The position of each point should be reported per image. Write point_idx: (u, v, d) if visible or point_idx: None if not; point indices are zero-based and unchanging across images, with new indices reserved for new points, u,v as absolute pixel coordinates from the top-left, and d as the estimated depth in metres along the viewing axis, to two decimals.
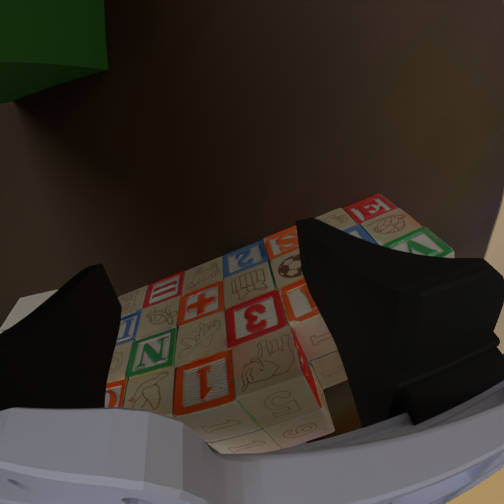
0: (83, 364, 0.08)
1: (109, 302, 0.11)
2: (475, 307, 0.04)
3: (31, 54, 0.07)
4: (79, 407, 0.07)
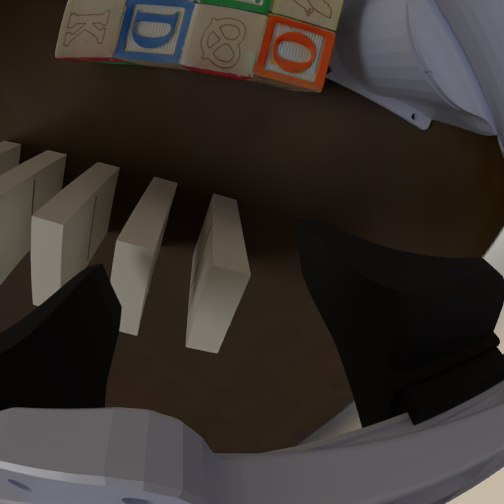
0: (83, 364, 0.08)
1: (109, 302, 0.11)
2: (475, 307, 0.04)
3: None
4: (79, 407, 0.07)
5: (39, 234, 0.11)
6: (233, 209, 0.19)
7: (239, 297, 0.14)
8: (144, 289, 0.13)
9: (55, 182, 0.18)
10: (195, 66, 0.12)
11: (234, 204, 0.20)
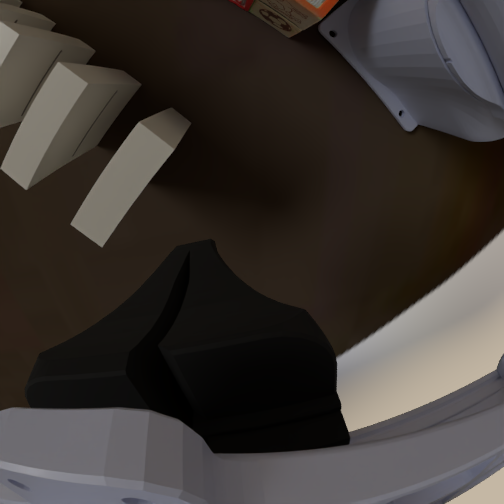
0: None
1: None
2: (276, 370, 0.04)
3: None
4: None
5: None
6: (184, 122, 0.16)
7: (151, 175, 0.11)
8: (57, 128, 0.09)
9: None
10: None
11: (187, 122, 0.17)
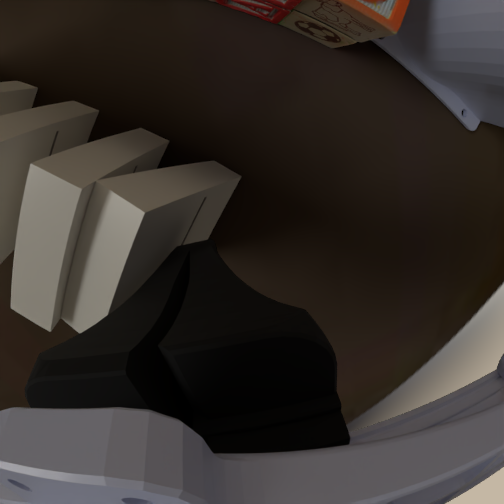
0: None
1: None
2: (276, 369, 0.04)
3: None
4: None
5: None
6: (224, 176, 0.14)
7: (126, 253, 0.07)
8: (61, 257, 0.07)
9: None
10: None
11: (231, 176, 0.14)
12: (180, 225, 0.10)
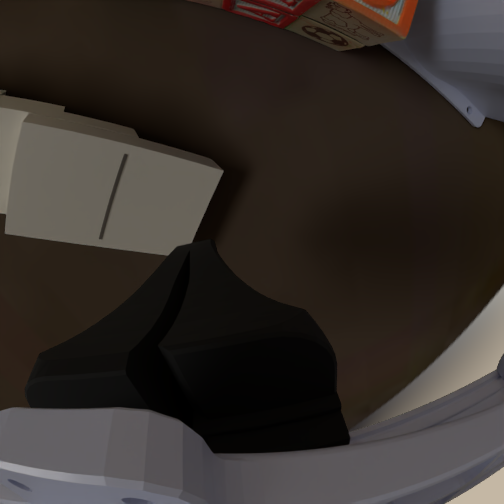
0: None
1: None
2: (276, 369, 0.04)
3: None
4: None
5: None
6: (183, 157, 0.13)
7: (16, 151, 0.09)
8: None
9: None
10: None
11: (201, 162, 0.14)
12: (87, 165, 0.11)
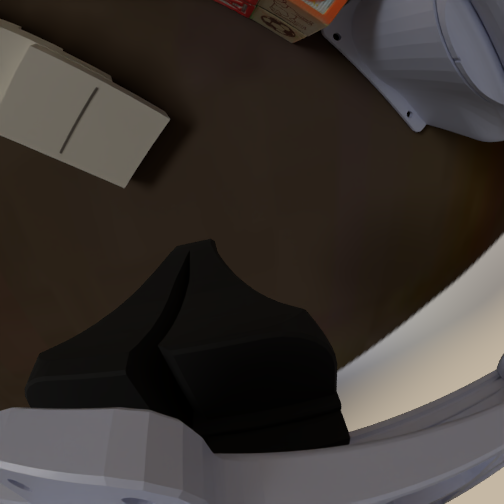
0: None
1: None
2: (276, 369, 0.04)
3: None
4: None
5: None
6: (140, 101, 0.15)
7: (18, 67, 0.10)
8: None
9: None
10: None
11: (153, 108, 0.16)
12: (66, 90, 0.12)
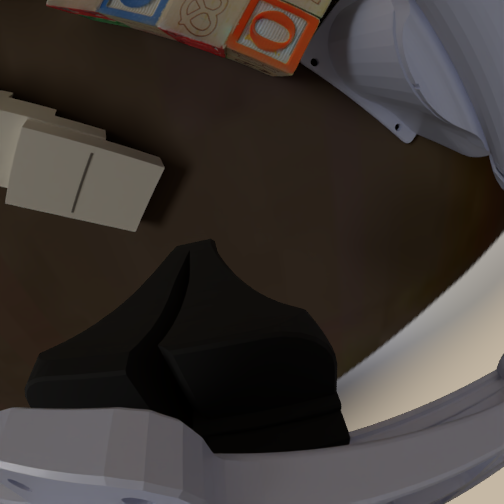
0: None
1: None
2: (276, 369, 0.04)
3: None
4: None
5: None
6: (134, 156, 0.17)
7: (16, 147, 0.13)
8: None
9: None
10: (170, 30, 0.11)
11: (147, 161, 0.18)
12: (65, 159, 0.15)
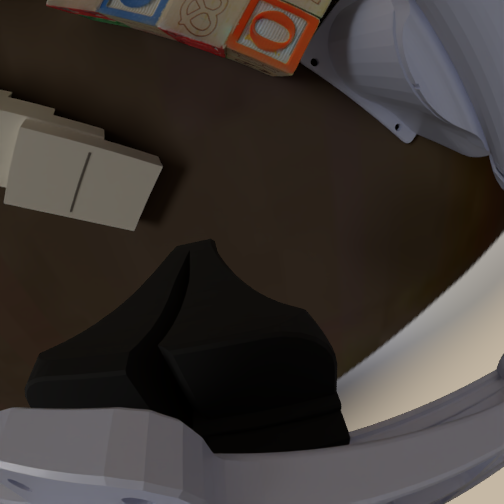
0: None
1: None
2: (276, 369, 0.04)
3: None
4: None
5: None
6: (132, 155, 0.17)
7: None
8: None
9: None
10: (170, 30, 0.11)
11: (145, 160, 0.18)
12: (63, 159, 0.15)
